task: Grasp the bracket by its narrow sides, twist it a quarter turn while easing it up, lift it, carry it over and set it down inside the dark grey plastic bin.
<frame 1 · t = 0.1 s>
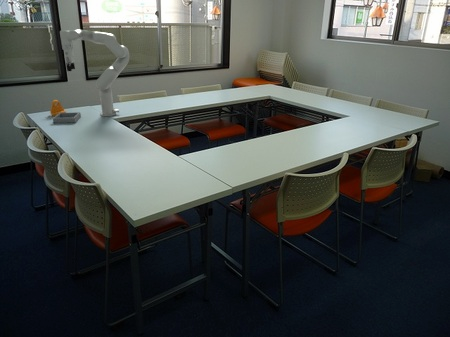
hand: (71, 70, 285), 37 cm above the table, tool pointing down, fingers open, 9 cm apart
bin: (67, 120, 287), on the table
bracket: (58, 115, 302), on the table
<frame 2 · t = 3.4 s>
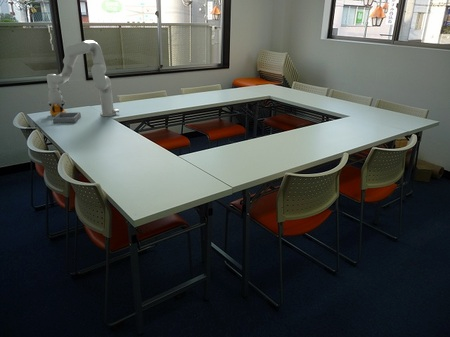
hand: (58, 111, 300), 3 cm above the table, tool pointing down, fingers open, 5 cm apart
bracket: (58, 115, 302), on the table, touching gripper
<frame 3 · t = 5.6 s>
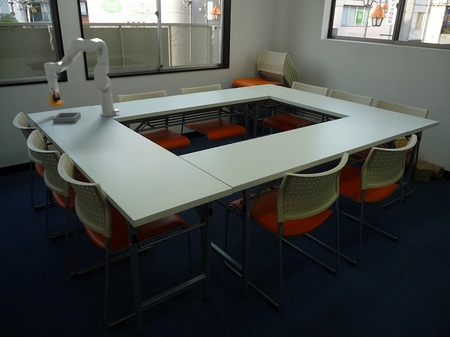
hand: (57, 100, 297), 12 cm above the table, tool pointing down, fingers closed on bracket, 5 cm apart
bracket: (57, 105, 298), point 8 cm above the table, touching gripper
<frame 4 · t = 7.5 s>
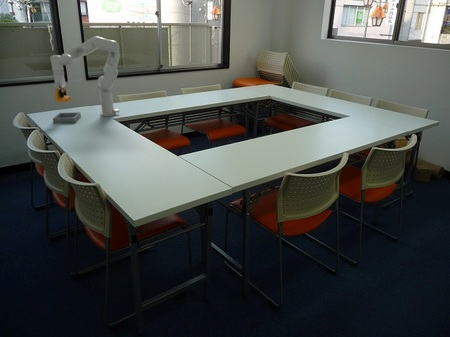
hand: (63, 96, 280), 19 cm above the table, tool pointing down, fingers closed on bracket, 5 cm apart
bracket: (63, 101, 282), point 15 cm above the table, touching gripper
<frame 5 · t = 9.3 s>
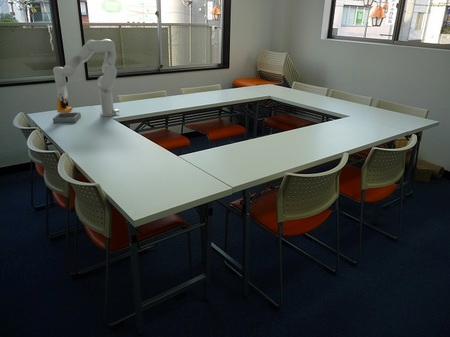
hand: (65, 106, 283), 11 cm above the table, tool pointing down, fingers closed on bracket, 5 cm apart
bracket: (65, 112, 284), point 7 cm above the table, touching gripper
when the fingers open (5 cm above the table, at t = 10.7 s): bracket stays where it is, resting on bin.
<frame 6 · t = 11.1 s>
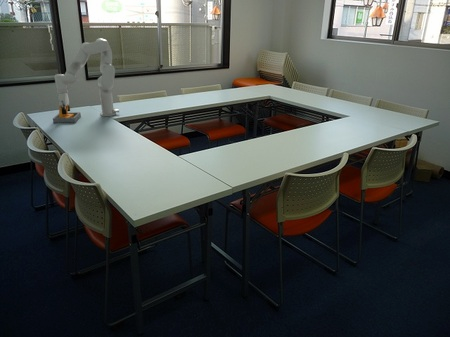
hand: (66, 112, 285), 6 cm above the table, tool pointing down, fingers open, 8 cm apart
bracket: (67, 119, 287), point 1 cm above the table, touching bin
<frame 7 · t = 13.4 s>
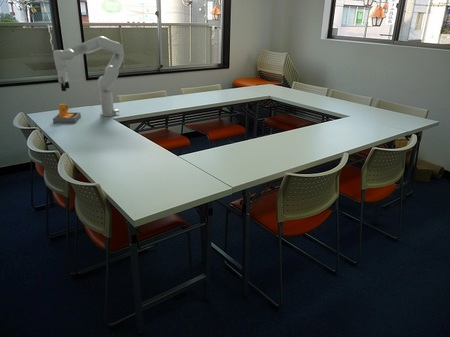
hand: (65, 89, 283), 23 cm above the table, tool pointing down, fingers open, 9 cm apart
nothing on the table moved.
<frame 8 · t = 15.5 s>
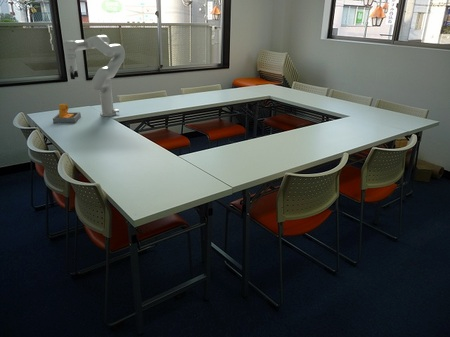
hand: (74, 78, 299), 28 cm above the table, tool pointing down, fingers open, 9 cm apart
nothing on the table moved.
at the end: bracket inside the target area on the bin (0.1 cm from its centre), point 0.8 cm above the bin's base; the gripper is holding nothing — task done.
